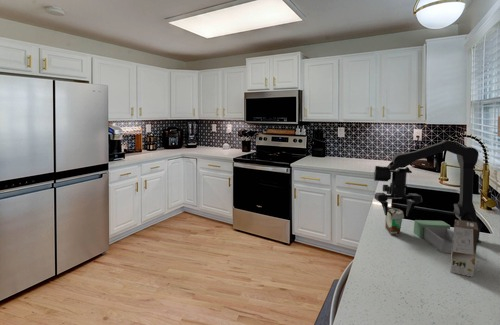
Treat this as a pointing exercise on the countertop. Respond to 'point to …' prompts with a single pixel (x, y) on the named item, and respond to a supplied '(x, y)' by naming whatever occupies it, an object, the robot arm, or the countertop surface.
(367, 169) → the countertop surface
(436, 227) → the green block on stand
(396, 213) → the food container
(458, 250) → the coffee box
